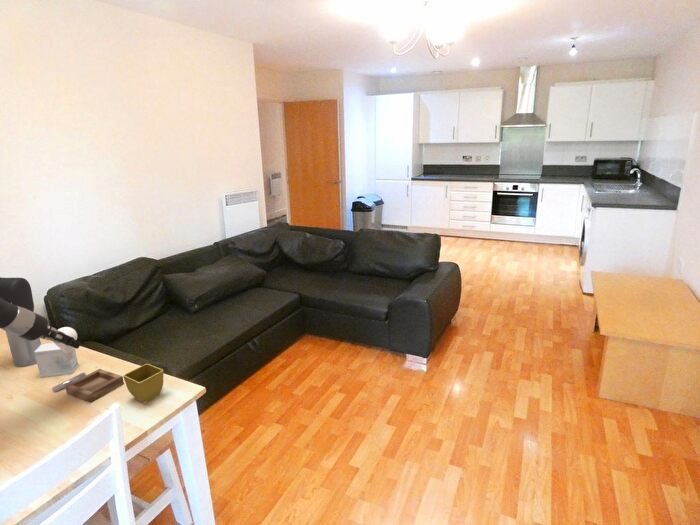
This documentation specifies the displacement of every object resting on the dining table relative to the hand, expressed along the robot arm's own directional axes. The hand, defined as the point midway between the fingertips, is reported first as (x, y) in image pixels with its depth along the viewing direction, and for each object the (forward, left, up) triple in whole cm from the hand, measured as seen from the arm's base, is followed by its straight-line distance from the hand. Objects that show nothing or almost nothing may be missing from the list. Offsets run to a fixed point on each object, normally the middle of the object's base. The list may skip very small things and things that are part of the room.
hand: (72, 343), depth 134 cm
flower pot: (+22, +7, -18) cm, 29 cm away
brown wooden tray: (+2, +3, -18) cm, 18 cm away
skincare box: (-21, +5, -18) cm, 28 cm away
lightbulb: (0, -2, -5) cm, 5 cm away
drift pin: (-9, +1, -18) cm, 20 cm away
